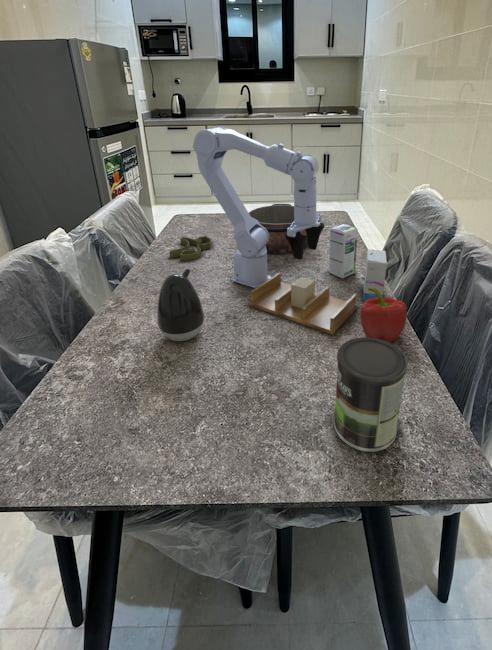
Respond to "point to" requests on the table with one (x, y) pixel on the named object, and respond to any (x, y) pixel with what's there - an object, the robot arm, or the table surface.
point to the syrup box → (342, 250)
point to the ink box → (374, 273)
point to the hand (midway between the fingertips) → (305, 253)
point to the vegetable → (383, 317)
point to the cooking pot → (276, 226)
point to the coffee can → (368, 393)
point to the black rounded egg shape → (179, 308)
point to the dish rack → (315, 314)
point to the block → (302, 292)
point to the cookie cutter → (189, 253)
